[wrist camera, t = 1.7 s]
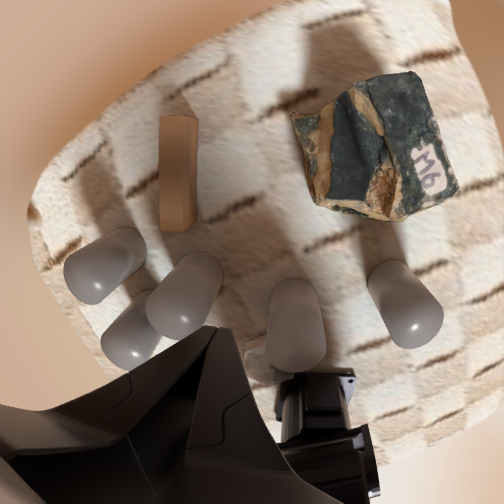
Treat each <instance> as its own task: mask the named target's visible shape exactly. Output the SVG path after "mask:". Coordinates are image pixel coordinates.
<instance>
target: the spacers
mask: <svg viewBox="0 0 504 504" xmlns="http://www.w3.org/2000/svg"><path fill="white" fill-rule="evenodd" d="M146 255H147V249H146V244H145V242H144V240H143V238H142V237H141V235H140V234H139V233H138V232H137V231H135V230H134V229H132V228H129V227H120V228H117V229H116V230H114V231H112V232H110V233H108V234H106V235H104V236H103V237H101V238H99V239H97V240H95V241H94V242H92V243H90V244H88V245H87V246H85V247H83V248H81V249H80V250H78V251H76V252H74V253H73V254H71V255H70V256H68V258H67V259H66V261H65V263H64V269H63V271H64V278H65V282H66V284H67V286H68V288H69V290H70V291H71V293H72V294H73V295H74V296H75V297H76V298H77V299H78V300H80V301H81V302H83V303H86V304H90V305H95V304H98V303H100V302H101V301H102V300H103V299H105V298H106V297H107V296H108V295H109V294H110V293H111V292H112V291H113V290H114V289H116V288H117V287H118V286H119V285H120V284H121V283H122V282H123V281H125V280H126V279H127V278H128V277H129V276H130V275H131V274H132V273H134V272H135V271H136V270H137V269H138V268H139V267H140V266H142V264H143V263H144V261H145V259H146ZM223 279H224V273H223V269H222V266H221V264H220V263H219V262H218V260H217V259H216V258H215V257H213V256H212V255H210V254H208V253H205V252H198V251H197V252H191V253H189V254H187V255H186V256H184V257H183V258H182V260H181V261H180V262H179V263H178V264H177V265H176V266H175V267H174V268H173V269H172V271H171V272H170V273H169V274H168V275H167V276H166V277H165V278H164V280H163V281H162V282H161V283H160V284H159V285H158V286H157V287H156V289H155V290H152V289H149V290H145V291H142V292H141V293H140V294H139V295H138V296H137V297H136V298H135V299H134V300H133V301H132V302H131V303H130V305H129V306H128V307H127V308H126V309H125V310H124V311H123V312H122V313H121V314H120V315H119V316H118V318H117V319H116V320H115V321H114V322H113V323H112V324H111V325H110V326H109V327H108V329H107V330H106V331H105V332H104V333H103V334H102V336H101V347H102V350H103V352H104V353H105V355H106V356H107V358H108V359H109V360H110V361H111V362H112V363H113V364H115V365H116V366H118V367H119V368H121V369H124V370H127V371H131V370H132V369H134V368H136V367H137V366H139V365H141V364H142V363H144V362H146V361H147V360H148V359H149V358H150V356H151V355H152V353H153V351H154V350H155V348H156V346H157V345H158V343H159V342H160V340H161V338H162V337H163V336H165V337H167V338H170V339H173V340H182V339H183V338H185V337H187V336H188V335H190V334H191V333H193V332H195V331H196V330H198V329H199V328H201V327H202V326H203V324H204V322H205V320H206V317H207V315H208V313H209V311H210V309H211V307H212V305H213V302H214V300H215V298H216V296H217V294H218V292H219V290H220V287H221V285H222V283H223ZM368 291H369V293H370V295H371V297H372V299H373V301H374V303H375V305H376V307H377V309H378V311H379V313H380V315H381V317H382V319H383V321H384V323H385V325H386V327H387V329H388V331H389V333H390V335H391V338H392V340H393V341H394V343H395V344H396V345H398V346H399V347H401V348H405V349H414V348H418V347H421V346H423V345H425V344H426V343H428V342H429V341H430V340H432V339H433V338H434V337H435V336H436V334H437V333H438V331H439V330H440V328H441V326H442V323H443V318H444V313H443V308H442V306H441V305H440V303H439V302H438V301H437V300H436V299H435V297H434V296H433V295H432V294H431V293H430V292H429V290H428V289H427V288H426V287H425V286H424V285H423V284H422V282H421V281H420V280H419V279H418V278H417V277H416V276H415V275H414V273H413V272H412V271H411V270H410V269H409V268H408V267H407V266H406V265H405V264H404V263H403V262H401V261H398V260H387V261H384V262H382V263H380V264H379V265H377V266H376V267H375V268H374V269H373V271H372V272H371V274H370V276H369V279H368ZM326 349H327V346H326V339H325V333H324V327H323V322H322V316H321V310H320V305H319V299H318V294H317V292H316V290H315V288H314V287H313V286H312V285H311V284H310V283H308V282H306V281H304V280H300V279H290V280H286V281H284V282H282V283H280V284H279V285H278V286H277V287H276V288H275V289H274V290H273V292H272V295H271V301H270V310H269V318H268V326H267V334H266V342H265V354H266V357H267V359H268V360H269V362H270V363H271V364H272V365H273V366H275V367H276V368H278V369H280V370H282V371H286V372H294V373H296V372H304V371H307V370H310V369H312V368H314V367H315V366H317V365H318V364H319V363H320V362H321V361H322V359H323V358H324V356H325V354H326Z"/></svg>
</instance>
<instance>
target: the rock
mask: <svg viewBox="0 0 504 504" xmlns="http://www.w3.org/2000/svg"><path fill="white" fill-rule="evenodd" d="M289 114H290V119H291V121H292V123H293V128H294V131H295V134H296V136H297V138H298V140H299V142H300V144H301V147H302V151H303V154H304V161H305V162H304V166H305V174H306V178H307V181H308V184H309V189H310V195H311V197H312V199H313V202H314V203H316V205H318V206H323V207H326V208H328V209H330V210H333V211H341V212H342V213H344V214H349V215H356V216H358V217H362V218H374V219H376V220H383V221H385V222H402V221H404V220H405V219H406V218H407V217H408V216H410V215H412V214H416V213H418V212H420V211H422V210H425V209H428V208H430V207H433V206H436V205H439V204H441V203H444V202H446V201H447V200H449V199H451V198H452V197H454V196H455V195H457V194H458V193H459V185H458V182H457V179H456V177H455V175H454V172H453V170H452V167H451V164H450V162H449V159H448V156H447V152H446V148H445V146H444V143H443V141H442V139H441V135H440V129H439V126H438V124H437V122H436V120H435V117H434V113H433V111H432V108H431V106H430V103H429V101H428V98H427V96H426V93H425V89H424V86H423V83H422V80H421V78H420V77H419V76H418V75H417V74H416V73H415V72H412V71H409V72H405V73H399V74H398V73H395V74H385V75H380V76H377V77H374V78H371V79H368V80H365V81H361V82H358V83H354V85H353V86H352V87H351V88H349V89H348V90H346V91H344V92H343V93H342V94H341V95H340V96H339V97H338V98H336V99H335V100H333V101H331V102H330V103H329V104H327V105H326V106H324V107H323V108H321V109H320V111H319V113H317V114H303V115H302V114H298V112H294V113H291V112H290V113H289Z"/></svg>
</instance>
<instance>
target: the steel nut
mask: <svg viewBox="0 0 504 504" xmlns="http://www.w3.org/2000/svg"><path fill="white" fill-rule="evenodd" d="M265 342H266V335H264V336H262V337H259V338H256V339H254V340H251V341H248V342H247V343H246V347H245V352H244V369H245V372H246V375H247V376H248V377H250V378H252V379H254V380H256V381H258V382H260V383H262V384H264V385H266V386H270V385H273V384H276V383H280V382H283V381H286V380H289V379H292V378H293V377H294V372H286V371H282V370H280V369H278V368H276V367H275V366H273V365H272V364H271V363H270V362H269V360H268V359H267V357H266V354H265Z"/></svg>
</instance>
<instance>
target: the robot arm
mask: <svg viewBox="0 0 504 504" xmlns="http://www.w3.org/2000/svg"><path fill="white" fill-rule="evenodd" d="M350 379H352V380H350ZM355 384H356V376H355V375H354V374H327V373H304V372H296V373H294V377H293V378H292V379H289V380H286V381H283V382H281V385H280V392H279V399H278V406H277V412H276V420H277V421H279V422H282V431H281V443H276V442H275V440H274V439H273V437H272V435H271V434H270V432H269V430H268V428H267V427H266V425H265V423H264V421H263V419H262V417H261V414H260V412H259V409H258V407H257V404H256V402H255V399H254V396H253V393H252V390H251V387H250V384H249V381H248V378H247V375H246V372H245V369H244V366H243V363H242V360H241V357H240V354H239V351H238V347H237V344H236V341H235V338H234V335H233V332H232V329H231V328H223V327H219V328H217V327H215V326H206V325H205V326H202V327H201V328H199V329H198V330H196V331H195V332H193V333H191V334H190V335H188V336H187V337H185V338H183V339H182V340H180V341H179V342H177V343H175V344H174V345H172V346H170V347H169V348H167V349H166V350H164V351H162V352H161V353H159V354H157V355H156V356H154V357H152V358H151V359H149V360H147V361H146V362H144V363H142V364H141V365H139V366H137V367H136V368H134V369H132V370H131V371H129V372H128V373H126V374H124V375H122V376H120V377H119V378H117V379H115V380H113V381H112V382H110V383H108V384H106V385H104V386H102V387H100V388H98V389H96V390H94V391H92V392H90V393H87V394H85V395H83V396H81V397H79V398H76V399H74V400H71V401H69V402H67V403H64V404H62V405H59V406H57V407H54V408H52V409H48V410H43V411H30V410H24V409H19V408H14V407H10V406H5V405H1V404H0V504H370V498H373V497H377V496H380V486H379V478H378V472H377V465H376V460H375V455H374V450H373V445H372V441H371V437H370V432H369V428H368V424H364V425H361V427H357V428H353V429H351V424H350V418H349V412H348V404H349V401H350V398H351V395H352V393H353V390H354V387H355Z"/></svg>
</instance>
